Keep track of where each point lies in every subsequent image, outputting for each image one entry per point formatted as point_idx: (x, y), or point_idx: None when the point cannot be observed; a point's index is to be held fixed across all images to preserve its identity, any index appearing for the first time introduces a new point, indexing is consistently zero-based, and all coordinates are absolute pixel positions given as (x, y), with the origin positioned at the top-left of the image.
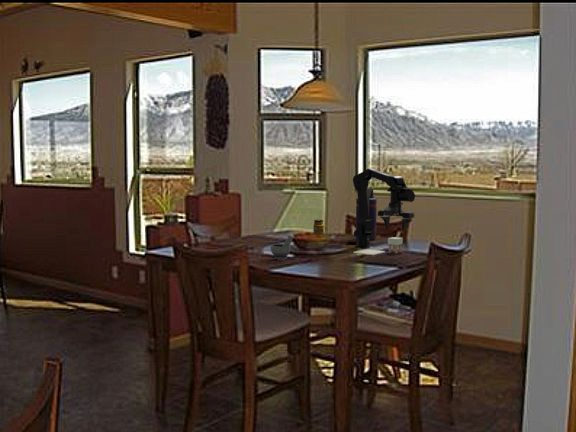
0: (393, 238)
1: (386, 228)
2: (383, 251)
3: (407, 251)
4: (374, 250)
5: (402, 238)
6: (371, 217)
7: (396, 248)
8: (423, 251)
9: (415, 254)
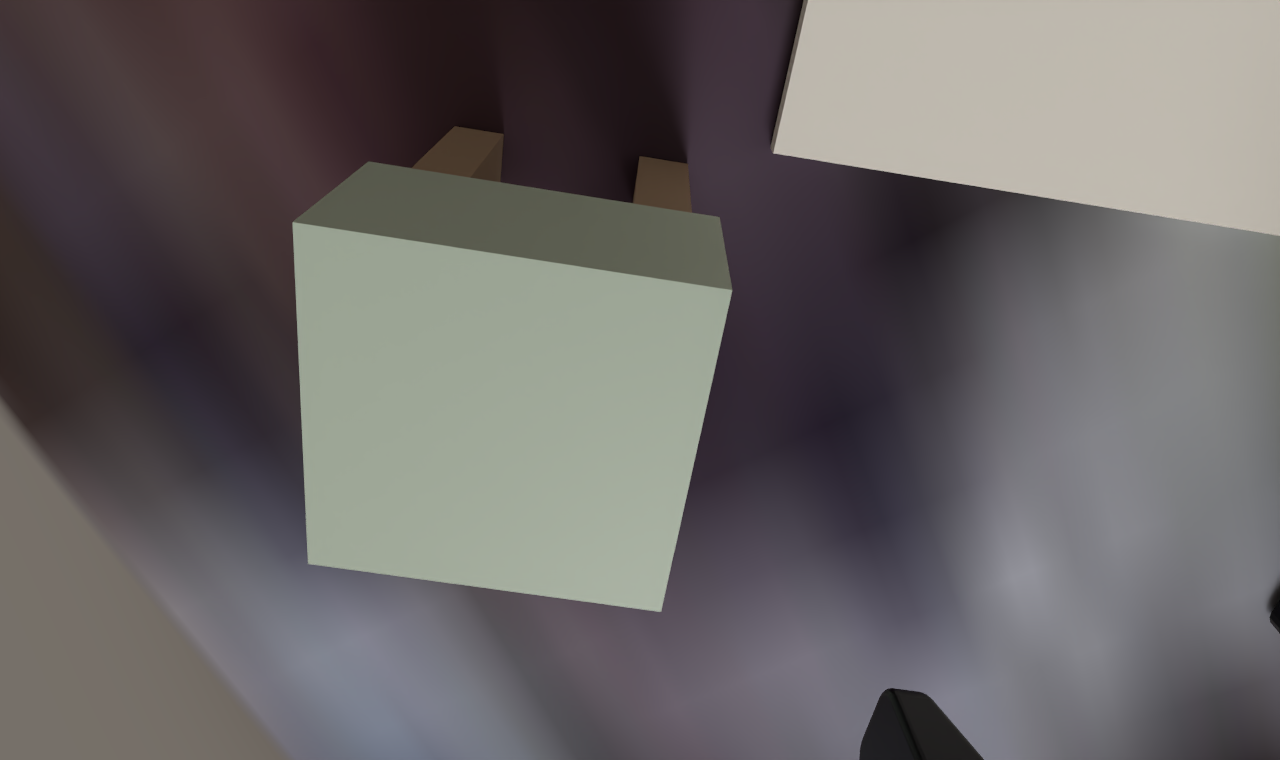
0: (509, 325)
1: (967, 742)
2: (815, 110)
3: None
4: (1088, 145)
5: (313, 544)
6: None
7: (433, 160)
8: (167, 607)
9: (38, 222)
